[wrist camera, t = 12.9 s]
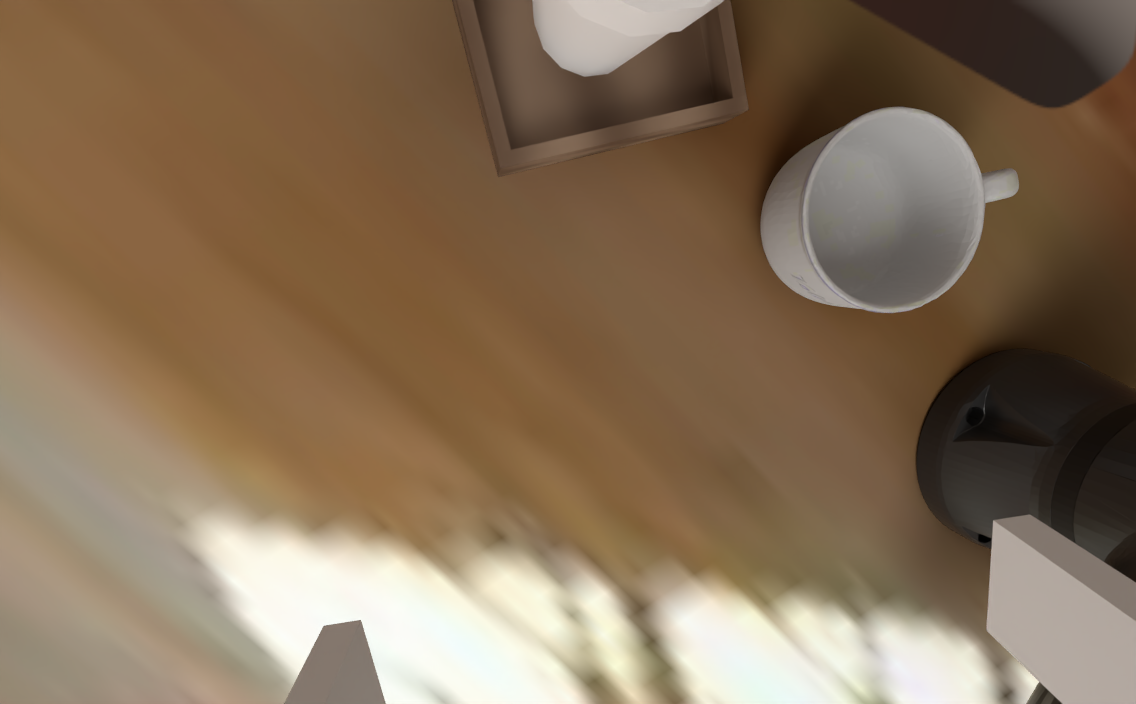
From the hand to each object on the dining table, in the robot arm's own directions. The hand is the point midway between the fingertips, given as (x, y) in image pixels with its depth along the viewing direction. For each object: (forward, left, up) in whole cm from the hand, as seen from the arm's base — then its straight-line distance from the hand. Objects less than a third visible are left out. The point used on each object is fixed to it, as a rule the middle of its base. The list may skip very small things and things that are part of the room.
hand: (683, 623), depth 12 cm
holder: (-8, -20, -25) cm, 33 cm away
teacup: (-22, -5, -26) cm, 34 cm away
